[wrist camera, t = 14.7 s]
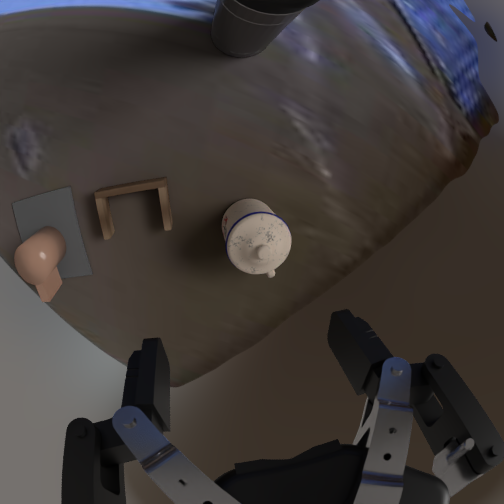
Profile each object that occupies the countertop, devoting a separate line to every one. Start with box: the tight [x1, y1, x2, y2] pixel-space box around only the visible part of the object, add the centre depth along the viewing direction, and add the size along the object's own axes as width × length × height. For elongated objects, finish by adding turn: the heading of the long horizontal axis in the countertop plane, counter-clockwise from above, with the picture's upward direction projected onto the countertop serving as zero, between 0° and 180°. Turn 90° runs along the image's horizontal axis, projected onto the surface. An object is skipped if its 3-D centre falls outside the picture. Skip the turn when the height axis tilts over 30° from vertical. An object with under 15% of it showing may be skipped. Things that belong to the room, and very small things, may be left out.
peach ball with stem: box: [14, 226, 66, 302], centre depth 35 cm, size 10×7×8 cm, turn 2°
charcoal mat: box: [12, 186, 93, 278], centre depth 37 cm, size 16×14×1 cm
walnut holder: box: [94, 177, 173, 240], centre depth 38 cm, size 8×11×3 cm
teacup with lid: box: [222, 199, 291, 278], centre depth 40 cm, size 12×9×12 cm
